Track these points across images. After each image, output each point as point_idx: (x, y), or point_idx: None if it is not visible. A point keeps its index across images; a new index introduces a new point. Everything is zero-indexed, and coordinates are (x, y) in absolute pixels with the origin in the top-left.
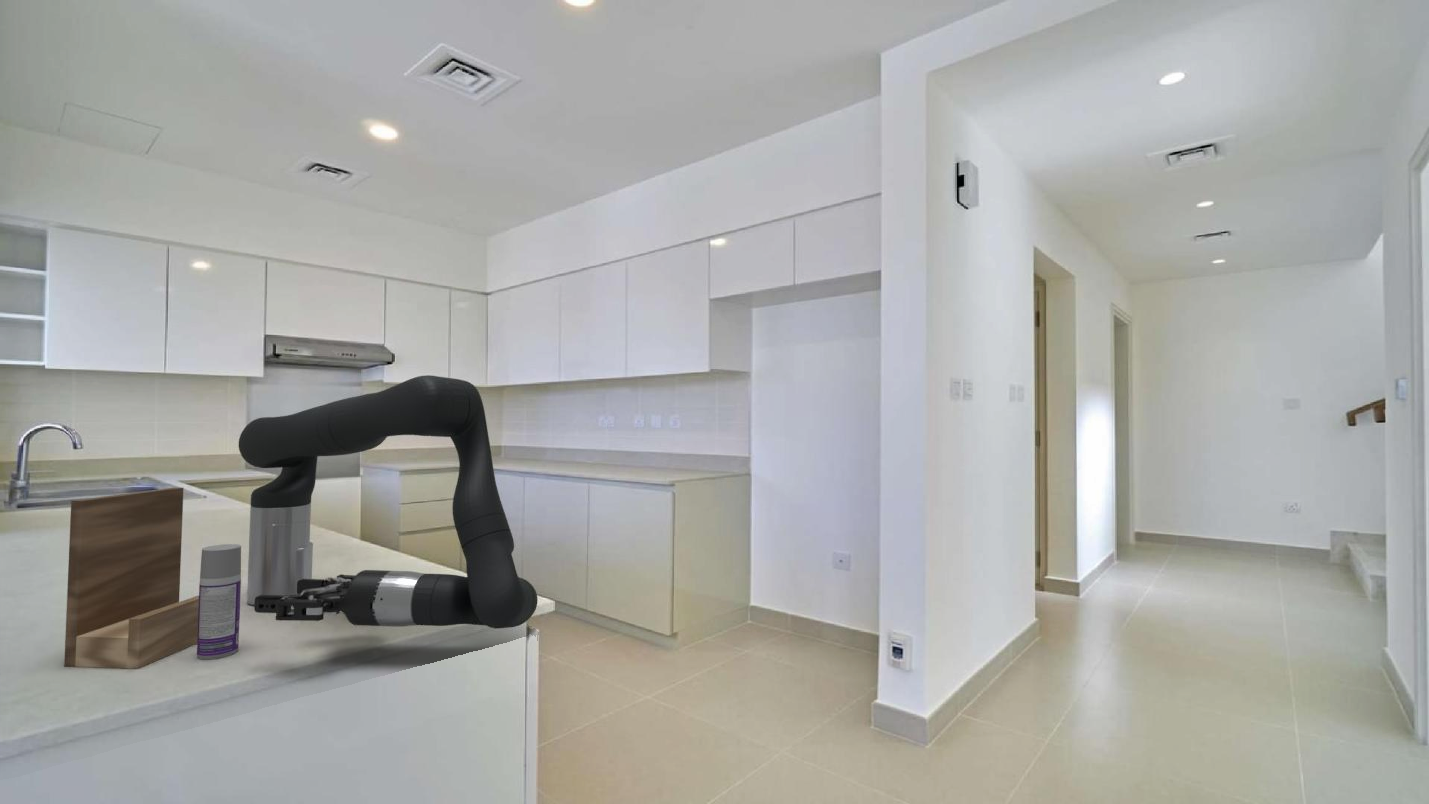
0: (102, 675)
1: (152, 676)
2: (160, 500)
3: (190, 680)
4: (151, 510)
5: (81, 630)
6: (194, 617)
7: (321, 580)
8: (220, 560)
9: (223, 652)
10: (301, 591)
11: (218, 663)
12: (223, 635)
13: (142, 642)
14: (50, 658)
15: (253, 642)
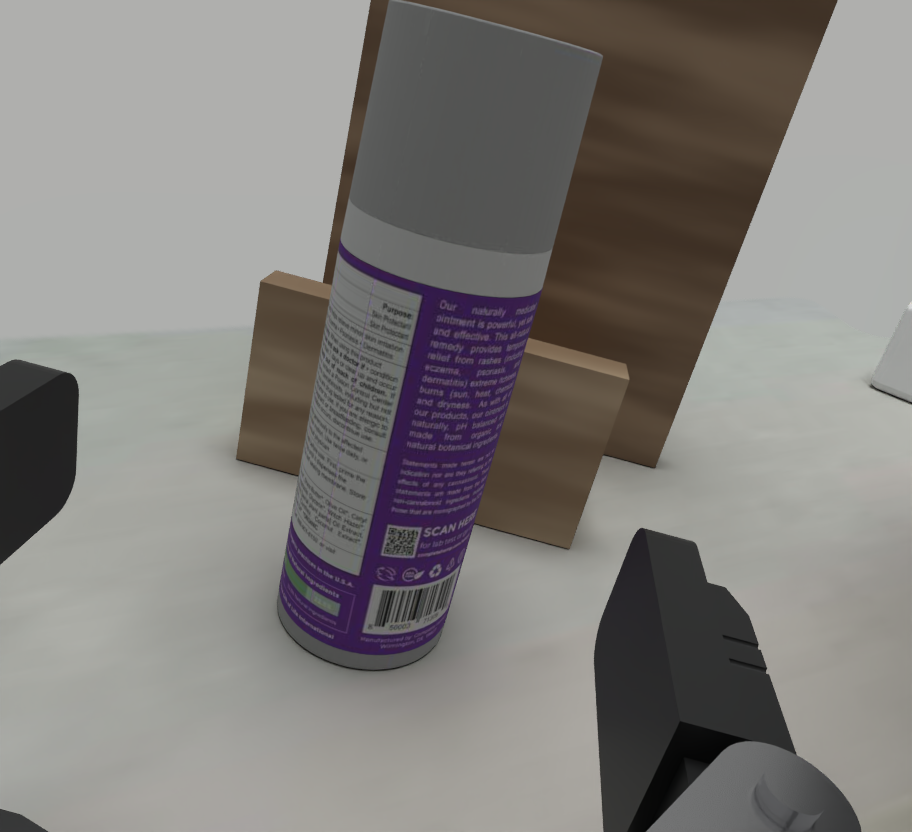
0: (202, 414)
1: (118, 498)
2: None
3: None
4: None
5: None
6: (511, 424)
7: (684, 714)
8: (385, 81)
9: (297, 619)
10: (608, 644)
11: (201, 644)
12: (310, 541)
13: (261, 377)
14: None
15: (518, 697)
